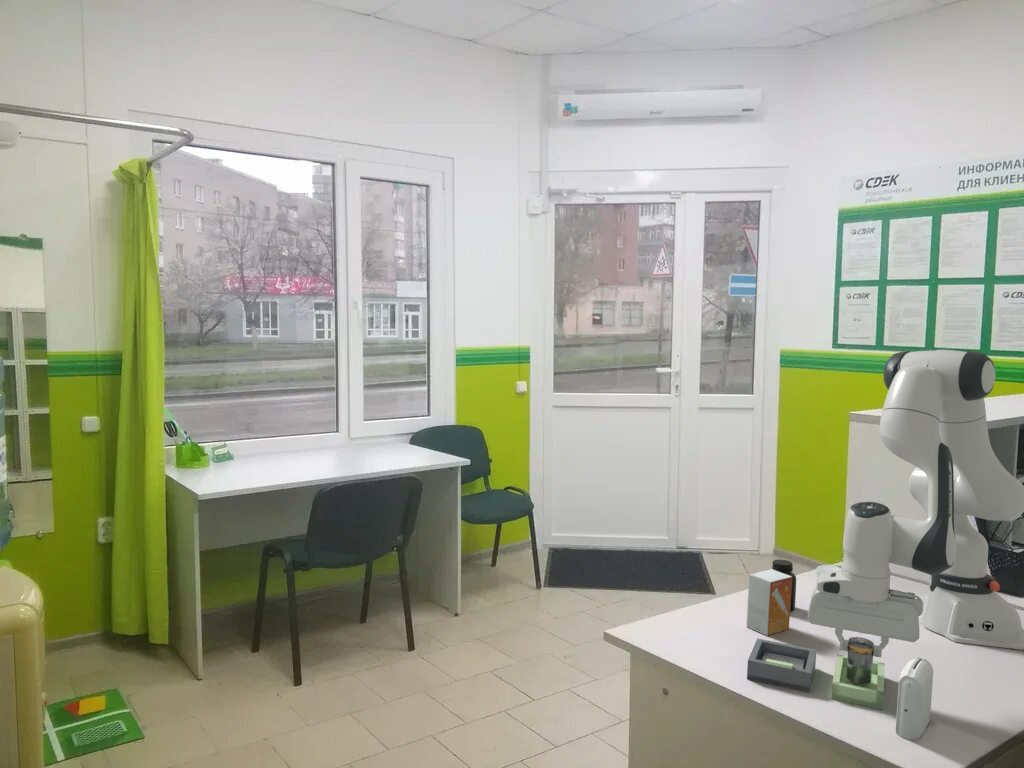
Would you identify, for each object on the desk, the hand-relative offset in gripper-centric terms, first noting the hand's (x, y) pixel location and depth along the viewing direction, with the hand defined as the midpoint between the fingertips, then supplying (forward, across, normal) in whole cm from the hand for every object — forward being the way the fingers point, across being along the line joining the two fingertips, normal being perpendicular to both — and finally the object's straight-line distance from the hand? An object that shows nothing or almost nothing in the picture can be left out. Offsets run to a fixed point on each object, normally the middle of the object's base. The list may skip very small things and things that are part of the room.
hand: (860, 652), depth 155 cm
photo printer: (+7, -10, +12) cm, 17 cm away
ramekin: (+8, +8, -59) cm, 60 cm away
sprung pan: (+6, +15, +1) cm, 16 cm away
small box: (+7, +20, -22) cm, 31 cm away
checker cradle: (+7, +14, +1) cm, 16 cm away
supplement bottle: (+7, +20, -37) cm, 42 cm away
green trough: (+7, 0, 0) cm, 7 cm away
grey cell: (+5, 0, 0) cm, 5 cm away
